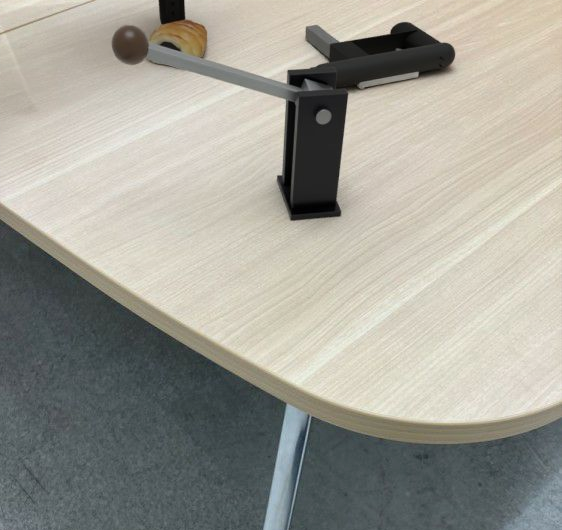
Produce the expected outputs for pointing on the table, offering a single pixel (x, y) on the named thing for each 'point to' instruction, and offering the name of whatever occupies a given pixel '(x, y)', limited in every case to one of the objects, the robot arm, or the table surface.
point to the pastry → (181, 37)
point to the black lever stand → (313, 146)
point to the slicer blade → (199, 65)
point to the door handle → (381, 55)
